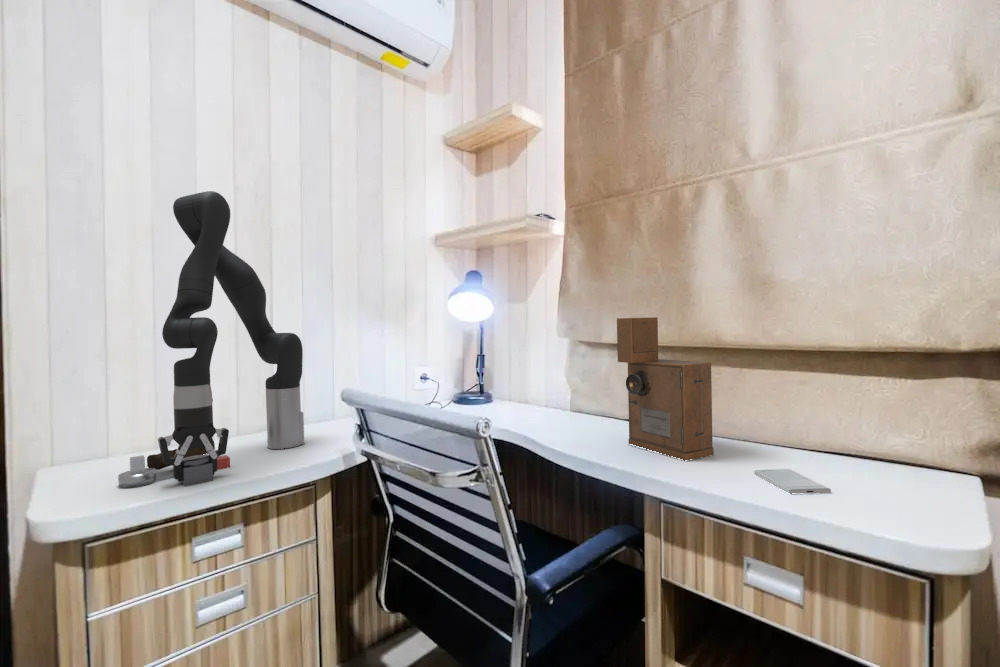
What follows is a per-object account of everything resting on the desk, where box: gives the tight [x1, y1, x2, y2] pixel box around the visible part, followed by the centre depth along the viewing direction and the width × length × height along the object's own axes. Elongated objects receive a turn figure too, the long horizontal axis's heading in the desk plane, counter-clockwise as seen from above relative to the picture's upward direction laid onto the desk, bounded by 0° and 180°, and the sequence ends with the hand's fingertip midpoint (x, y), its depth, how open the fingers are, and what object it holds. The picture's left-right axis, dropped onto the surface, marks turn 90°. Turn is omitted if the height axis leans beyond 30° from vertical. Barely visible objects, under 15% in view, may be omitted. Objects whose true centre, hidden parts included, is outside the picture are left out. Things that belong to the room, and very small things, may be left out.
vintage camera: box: [616, 317, 715, 461], centre depth 127 cm, size 19×14×35 cm
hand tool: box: [146, 438, 216, 470], centre depth 131 cm, size 19×4×5 cm, turn 162°
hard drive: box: [753, 468, 832, 495], centre depth 100 cm, size 2×8×12 cm
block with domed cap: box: [180, 454, 214, 487], centre depth 112 cm, size 6×6×5 cm
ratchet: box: [117, 454, 231, 490], centre depth 116 cm, size 22×7×6 cm, turn 132°
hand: (196, 477), depth 112 cm, fingers closed on block with domed cap, 5 cm apart
